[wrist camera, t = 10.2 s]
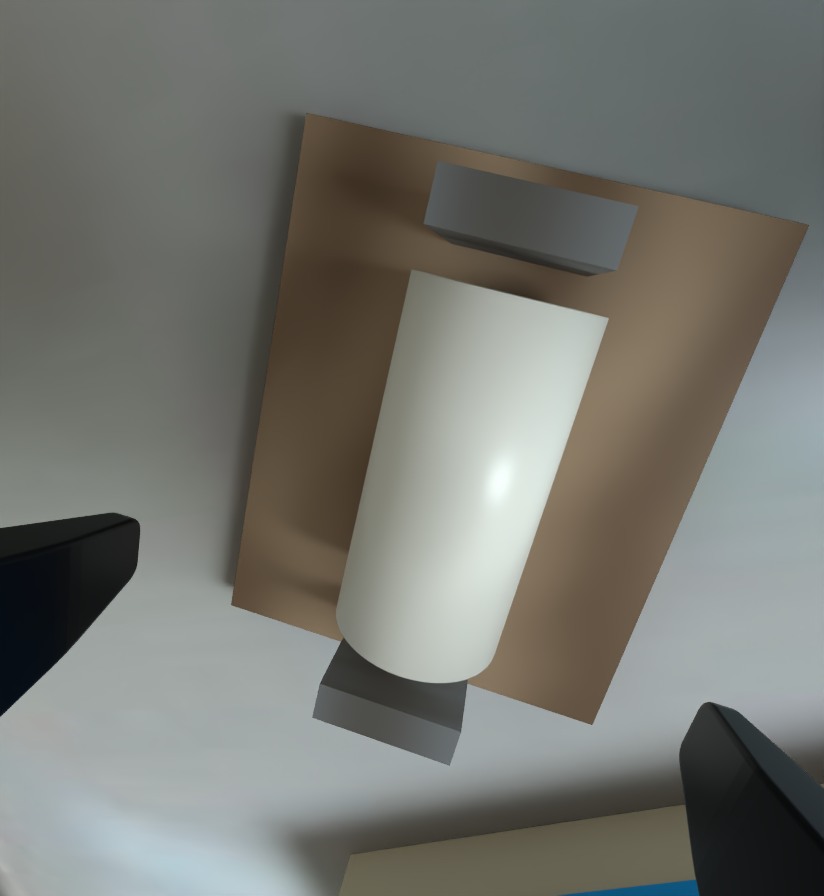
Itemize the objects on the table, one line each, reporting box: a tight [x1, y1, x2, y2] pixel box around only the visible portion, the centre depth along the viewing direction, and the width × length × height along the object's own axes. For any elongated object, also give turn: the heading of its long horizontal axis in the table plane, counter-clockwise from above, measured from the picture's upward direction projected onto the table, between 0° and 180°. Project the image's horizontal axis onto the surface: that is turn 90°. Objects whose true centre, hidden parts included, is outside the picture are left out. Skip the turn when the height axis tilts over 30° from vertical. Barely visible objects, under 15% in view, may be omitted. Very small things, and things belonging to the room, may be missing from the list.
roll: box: [336, 270, 609, 683], centre depth 15 cm, size 5×10×5 cm, turn 167°
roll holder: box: [231, 113, 809, 766], centre depth 16 cm, size 14×17×6 cm
